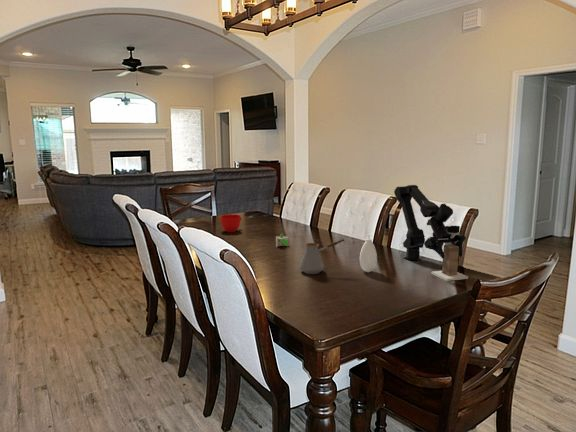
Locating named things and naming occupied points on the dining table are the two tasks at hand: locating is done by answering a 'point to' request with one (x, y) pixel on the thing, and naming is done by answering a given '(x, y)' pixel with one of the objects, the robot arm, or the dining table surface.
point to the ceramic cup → (230, 222)
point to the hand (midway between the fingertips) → (452, 257)
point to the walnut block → (450, 260)
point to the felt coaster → (449, 278)
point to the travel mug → (453, 231)
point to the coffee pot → (313, 258)
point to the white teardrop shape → (368, 256)
